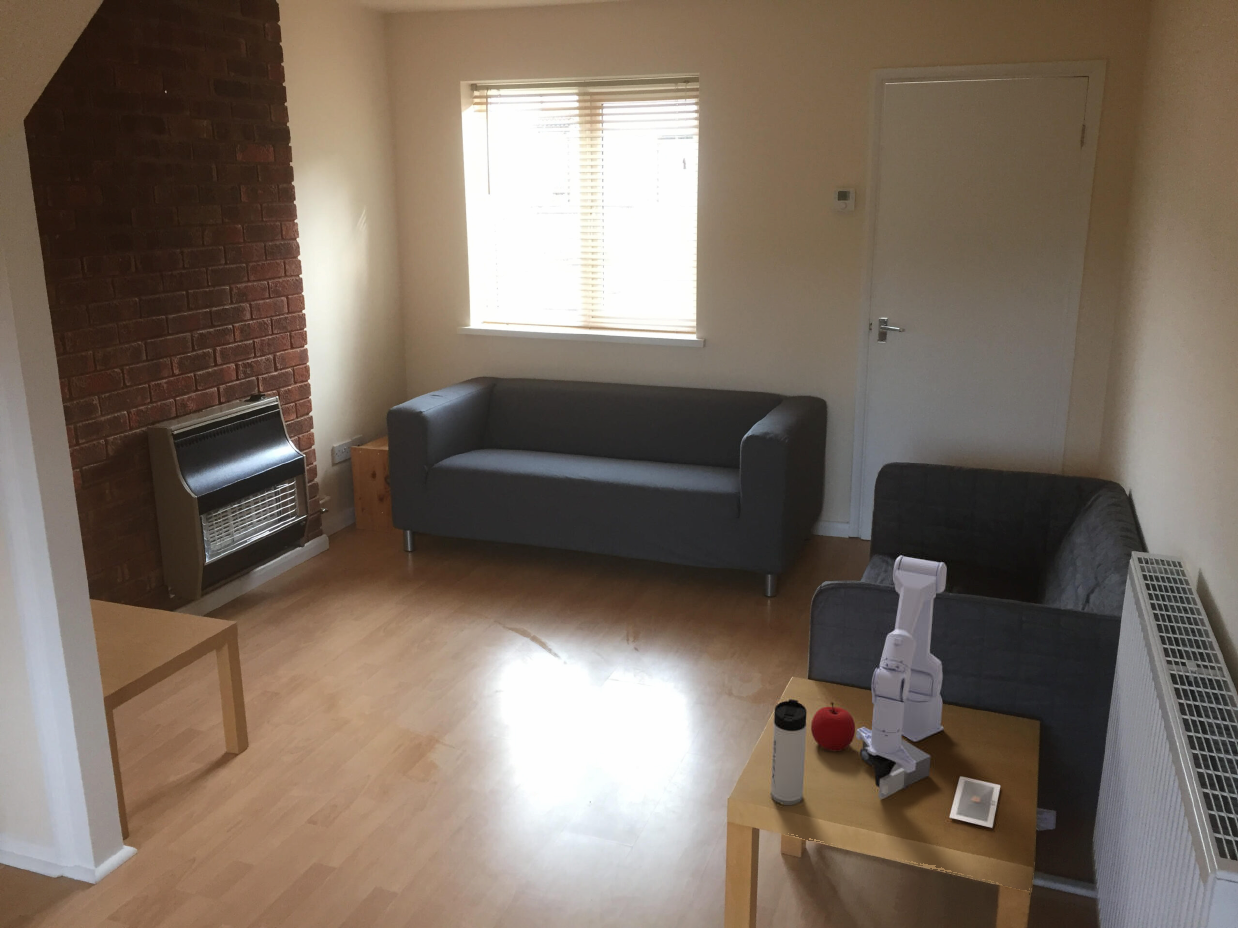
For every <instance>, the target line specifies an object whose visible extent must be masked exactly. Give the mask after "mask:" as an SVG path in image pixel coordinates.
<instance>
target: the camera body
mask: <svg viewBox="0 0 1238 928" xmlns="http://www.w3.org/2000/svg"><path fill="white" fill-rule="evenodd" d="M901 746H902V747H903V748H904V749H905V751H906V752H907V753H908V755H909V756H910V757H911V758H912V759H913V760H914V761H916V766H915V770H914V771H912V772H909V773H907V780H906V787H908V786H910V785H912V784H914V783H916V782H918V781H921V780H922V779H925V778H927V777H929V776H930V765H931V758H932V756H931V755H930V754H929V753H926V752H924V751H923V750H921V749H919V748H918V747H916V746H914V745H913V744H911V743H909V742H907V741H906V740H904V739H902V738H901ZM867 750H868V745H867V744H866V743H865V741H864V740H862V748H860V750H859V755H860V758H861V760H862V761H863V762H865V763H867V764H869V765H871V766H872V767H873V765H872V763H871V761H870V759H869V758H868V754H869V752H868V751H867ZM900 768H902V766H901V765H899V764H898V763H896V764H895V766H894V767H893V769H892V770H891V772H890V774H891V773H893V772H894V771H896V770H898V769H900Z"/></svg>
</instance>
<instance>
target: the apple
mask: <svg viewBox="0 0 1238 928" xmlns="http://www.w3.org/2000/svg"><path fill="white" fill-rule="evenodd" d="M830 704H831V706H825V707H824V706H823V707H821V708H819V709H818V710H817V711H816V712H815V713H814V716H813V717H812V720H811V724H810V725H811V727H810V730H811V735H812V736H813V739H814V741H815V742H816V743H817V744H818V745H819V746H820V747H822V749H824V750H828V751H832V752H833V751H834V752H839V751H842V750H845V749H846V748H848V747H849V746H850V744H851V743H852V742H853V740H854V738H855V734H856V723H855V720H854V717H853V716H852V715H851V713H849V711H848V710H846V709H844V708H841V707H838V706H837V707H836V706H834V702H830Z"/></svg>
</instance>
